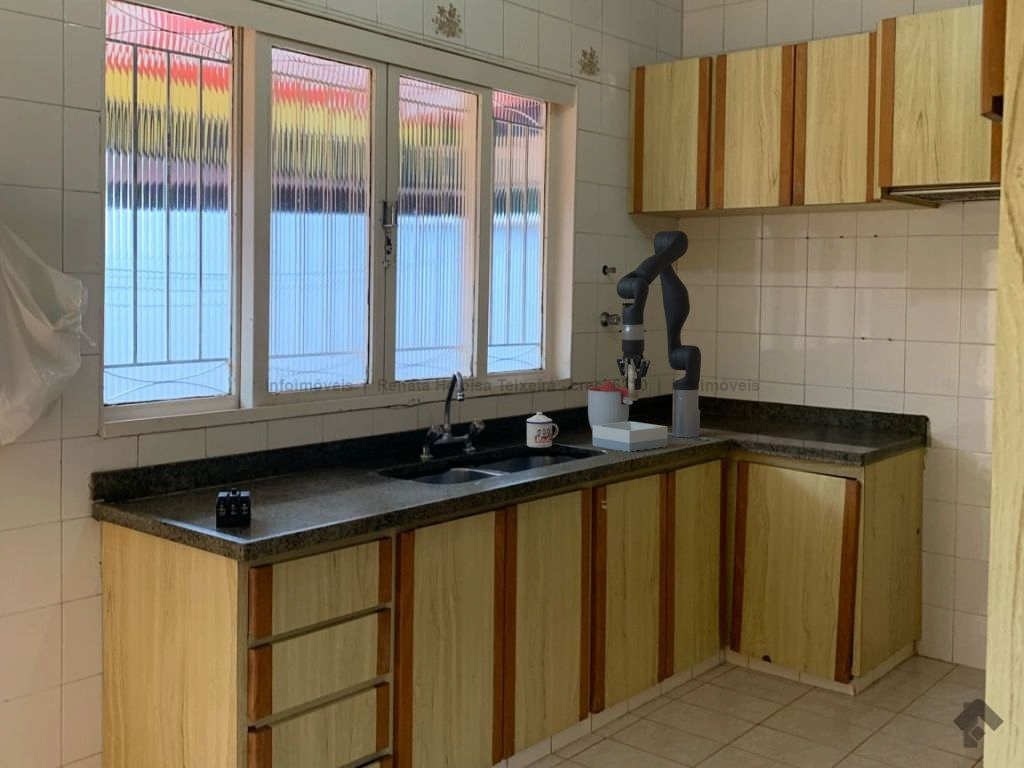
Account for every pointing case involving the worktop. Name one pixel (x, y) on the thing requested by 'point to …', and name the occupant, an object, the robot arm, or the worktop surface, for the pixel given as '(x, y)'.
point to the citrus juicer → (608, 404)
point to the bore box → (629, 436)
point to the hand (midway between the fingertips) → (633, 389)
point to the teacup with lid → (540, 431)
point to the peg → (631, 385)
